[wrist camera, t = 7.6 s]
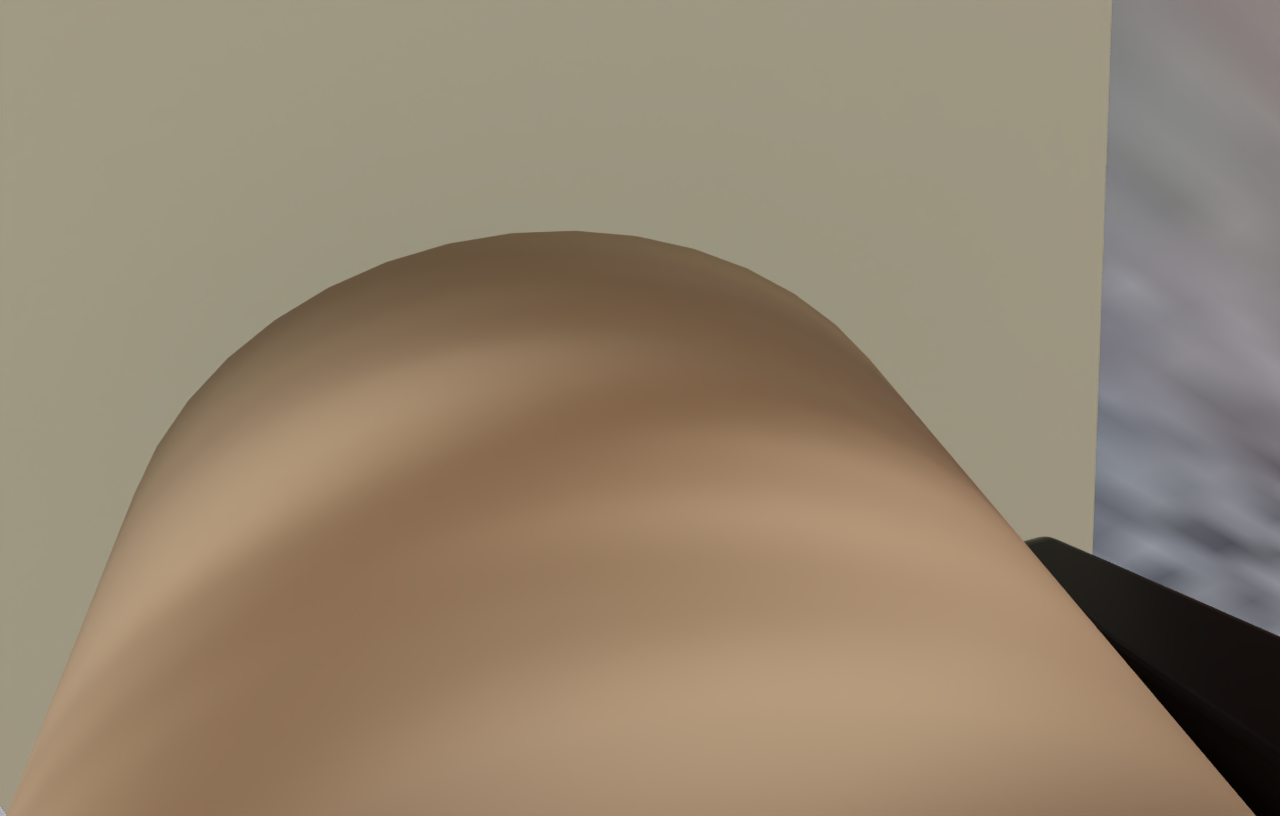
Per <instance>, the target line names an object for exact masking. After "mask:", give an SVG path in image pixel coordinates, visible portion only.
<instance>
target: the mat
mask: <svg viewBox="0 0 1280 816" xmlns="http://www.w3.org/2000/svg"><path fill="white" fill-rule="evenodd" d="M1111 15H1112V0H0V806H1V807H2V809H3V810H4V812H5V813H6V815H7V813H8V810H9V808H10V805H11V803H12V800H13V798H14V795H15V793H16V790H17V788H18V785H19V783H20V780H21V778H22V775H23V773H24V770H25V768H26V765H27V763H28V760H29V758H30V755H31V753H32V750H33V747H34V745H35V742H36V740H37V737H38V735H39V732H40V730H41V727H42V725H43V722H44V720H45V717H46V715H47V712H48V710H49V707H50V705H51V702H52V700H53V697H54V695H55V692H56V690H57V687H58V685H59V682H60V680H61V677H62V675H63V672H64V670H65V667H66V664H67V662H68V659H69V657H70V654H71V652H72V649H73V647H74V644H75V642H76V639H77V637H78V634H79V632H80V629H81V627H82V624H83V622H84V619H85V617H86V614H87V612H88V609H89V607H90V604H91V602H92V599H93V597H94V594H95V592H96V589H97V587H98V584H99V581H100V579H101V576H102V574H103V571H104V569H105V566H106V564H107V561H108V559H109V556H110V554H111V551H112V549H113V546H114V544H115V541H116V539H117V536H118V534H119V531H120V529H121V526H122V524H123V521H124V519H125V516H126V514H127V511H128V509H129V506H130V504H131V501H132V498H133V496H134V494H135V491H136V489H137V487H138V485H139V483H140V481H141V479H142V477H143V475H144V472H145V470H146V468H147V466H148V464H149V462H150V460H151V458H152V455H153V453H154V451H155V449H156V447H157V445H158V444H159V442H160V441H161V440H162V438H163V437H164V435H165V434H166V432H167V431H168V429H169V428H170V426H171V425H172V423H173V422H174V421H175V419H176V418H177V416H178V415H179V413H180V412H181V410H182V409H183V407H184V406H185V404H186V403H187V402H188V400H189V399H190V398H191V397H192V396H193V395H194V394H195V393H196V392H197V391H198V389H199V388H200V387H201V386H202V385H203V384H204V383H205V382H206V381H207V380H208V379H209V378H210V377H211V376H212V374H213V373H214V372H215V371H216V370H217V369H218V368H219V367H220V366H221V365H222V364H223V363H224V362H225V360H226V359H227V358H228V357H230V356H231V355H232V354H233V353H235V352H236V351H237V350H238V349H240V348H241V347H242V346H243V345H245V344H246V343H247V342H248V341H249V340H251V339H252V338H253V337H254V336H256V335H257V334H258V333H259V332H261V331H262V330H263V329H264V328H266V327H267V326H268V325H269V324H271V323H272V322H273V321H274V320H276V319H277V318H279V317H281V316H282V315H284V314H286V313H287V312H289V311H291V310H292V309H294V308H296V307H297V306H299V305H300V304H302V303H304V302H305V301H307V300H309V299H310V298H312V297H314V296H315V295H317V294H319V293H320V292H322V291H324V290H325V289H327V288H329V287H331V286H333V285H335V284H338V283H340V282H342V281H345V280H347V279H349V278H351V277H354V276H356V275H358V274H360V273H363V272H365V271H367V270H369V269H372V268H374V267H376V266H379V265H381V264H383V263H385V262H388V261H392V260H395V259H398V258H402V257H405V256H408V255H412V254H415V253H418V252H422V251H425V250H429V249H432V248H435V247H439V246H442V245H445V244H449V243H455V242H461V241H467V240H473V239H479V238H485V237H491V236H497V235H503V234H509V233H528V232H553V231H585V232H596V233H607V234H619V235H630V236H638V237H643V238H647V239H652V240H656V241H661V242H665V243H670V244H675V245H679V246H684V247H688V248H693V249H696V250H699V251H701V252H704V253H707V254H709V255H712V256H715V257H718V258H720V259H723V260H726V261H728V262H731V263H734V264H737V265H739V266H742V267H745V268H747V269H749V270H751V271H753V272H755V273H757V274H759V275H760V276H762V277H764V278H766V279H768V280H770V281H772V282H773V283H775V284H777V285H779V286H781V287H783V288H785V289H786V290H788V291H790V292H792V293H794V294H795V295H797V296H798V297H799V298H801V299H802V300H803V301H805V302H806V303H807V304H809V305H810V306H811V307H813V308H814V309H815V310H817V311H818V312H820V313H821V314H822V315H824V316H825V317H826V318H828V319H829V320H830V321H832V322H833V323H834V324H836V326H837V327H838V328H839V329H840V330H841V331H842V332H843V333H844V334H845V335H846V336H847V337H848V338H849V339H850V340H851V341H852V342H853V343H854V344H855V345H856V346H857V347H858V348H859V349H860V350H861V351H862V352H863V353H864V354H865V355H866V356H867V357H868V358H869V359H870V360H871V362H872V363H873V364H874V365H875V366H876V367H877V369H878V370H879V371H880V372H881V373H882V375H883V376H884V377H885V378H886V379H887V380H888V382H889V383H890V384H891V385H892V386H893V388H894V389H895V390H896V391H897V392H898V393H899V395H900V396H901V397H902V398H903V399H904V401H905V402H906V403H907V404H908V405H909V406H910V408H911V409H912V410H913V411H914V412H915V414H916V415H917V416H918V417H919V418H920V419H921V421H922V422H923V423H924V424H925V425H926V427H927V428H928V429H929V430H930V431H931V432H932V434H933V435H934V436H935V437H936V438H937V440H938V441H939V442H940V443H941V444H942V445H943V447H944V448H945V449H946V450H947V451H948V453H949V454H950V455H951V456H952V457H953V458H954V460H955V461H956V462H957V463H958V464H959V466H960V467H961V468H962V469H963V470H964V471H965V473H966V474H967V475H968V476H969V477H970V479H971V480H972V481H973V482H974V483H975V484H976V486H977V487H978V488H979V489H980V490H981V492H982V493H983V494H984V495H985V496H986V497H987V499H988V500H989V501H990V502H991V503H992V505H993V506H994V507H995V508H996V509H997V510H998V512H999V513H1000V514H1001V515H1002V516H1003V518H1004V519H1005V520H1006V521H1007V522H1008V523H1009V525H1010V526H1011V527H1012V528H1013V529H1014V531H1015V532H1016V533H1017V534H1018V535H1019V536H1020V538H1021V539H1022V540H1023V541H1026V540H1030V539H1033V538H1037V537H1044V536H1047V537H1052V538H1055V539H1058V540H1060V541H1062V542H1065V543H1067V544H1069V545H1071V546H1074V547H1076V548H1078V549H1081V550H1083V551H1085V552H1087V553H1090V554H1092V550H1093V522H1094V494H1095V466H1096V437H1097V409H1098V381H1099V353H1100V325H1101V297H1102V269H1103V240H1104V212H1105V184H1106V156H1107V128H1108V100H1109V72H1110V44H1111Z"/></svg>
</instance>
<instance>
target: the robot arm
mask: <svg viewBox="0 0 1280 816" xmlns="http://www.w3.org/2000/svg"><path fill="white" fill-rule="evenodd" d="M1024 542H1025V544H1026V545H1027V546H1028V547H1029V548H1030V549H1031V551H1032V552H1033V553H1034V554H1035V555H1036V557H1037V558H1038V559H1039V560H1040V561H1041V562H1042V564H1043V565H1044V566H1045V567H1046V568H1047V570H1048V571H1049V572H1050V573H1051V574H1052V575H1053V577H1054V578H1055V579H1056V580H1057V581H1058V583H1059V584H1060V585H1061V586H1062V587H1063V588H1064V590H1065V591H1066V592H1067V593H1068V594H1069V596H1070V597H1071V598H1072V599H1073V600H1074V601H1075V603H1076V604H1077V605H1078V606H1079V607H1080V609H1081V610H1082V611H1083V612H1084V613H1085V614H1086V616H1087V617H1088V618H1089V619H1090V620H1091V622H1092V623H1093V624H1094V625H1095V626H1096V627H1097V629H1098V630H1099V631H1100V632H1101V633H1102V635H1103V636H1104V637H1105V638H1106V639H1107V640H1108V642H1109V643H1110V644H1111V645H1112V646H1113V648H1114V649H1115V650H1116V651H1117V652H1118V653H1119V655H1120V656H1121V657H1122V658H1123V659H1124V661H1125V662H1126V663H1127V664H1128V665H1129V666H1130V668H1131V669H1132V670H1133V671H1134V672H1135V674H1136V675H1137V676H1138V677H1139V678H1140V679H1141V681H1142V682H1143V683H1144V684H1145V685H1146V687H1147V688H1148V689H1149V690H1150V691H1151V692H1152V694H1153V695H1154V696H1155V697H1156V698H1157V700H1158V701H1159V702H1160V703H1161V704H1162V705H1163V707H1164V708H1165V709H1166V710H1167V711H1168V713H1169V714H1170V715H1171V716H1172V717H1173V718H1174V720H1175V721H1176V722H1177V723H1178V724H1179V726H1180V727H1181V728H1182V729H1183V730H1184V731H1185V733H1186V734H1187V735H1188V736H1189V737H1190V739H1191V740H1192V741H1193V742H1194V743H1195V744H1196V746H1197V747H1198V748H1199V749H1200V750H1201V752H1202V753H1203V754H1204V755H1205V756H1206V757H1207V759H1208V760H1209V761H1210V762H1211V763H1212V765H1213V766H1214V767H1215V768H1216V769H1217V770H1218V772H1219V773H1220V774H1221V775H1222V776H1223V778H1224V779H1225V780H1226V781H1227V782H1228V783H1229V785H1230V786H1231V787H1232V788H1233V789H1234V791H1235V792H1236V793H1237V794H1238V795H1239V796H1240V798H1241V799H1242V800H1243V801H1244V802H1245V804H1246V805H1247V806H1248V807H1249V808H1250V809H1251V811H1252V812H1253V813H1254V814H1255V815H1256V816H1280V636H1278V635H1275V634H1273V633H1271V632H1268V631H1266V630H1264V629H1262V628H1259V627H1257V626H1255V625H1252V624H1250V623H1248V622H1245V621H1243V620H1241V619H1239V618H1236V617H1234V616H1232V615H1229V614H1227V613H1225V612H1223V611H1220V610H1218V609H1216V608H1213V607H1211V606H1209V605H1207V604H1204V603H1202V602H1200V601H1197V600H1195V599H1193V598H1191V597H1188V596H1186V595H1184V594H1181V593H1179V592H1177V591H1174V590H1172V589H1170V588H1168V587H1165V586H1163V585H1161V584H1158V583H1156V582H1154V581H1152V580H1149V579H1147V578H1145V577H1142V576H1140V575H1138V574H1136V573H1133V572H1131V571H1129V570H1126V569H1124V568H1122V567H1120V566H1117V565H1115V564H1113V563H1110V562H1108V561H1106V560H1103V559H1101V558H1099V557H1097V556H1094V555H1092V554H1090V553H1087V552H1085V551H1083V550H1081V549H1078V548H1076V547H1074V546H1071V545H1069V544H1067V543H1065V542H1062V541H1060V540H1058V539H1055V538H1052V537H1047V536H1044V537H1037V538H1033V539H1030V540H1026V541H1024Z"/></svg>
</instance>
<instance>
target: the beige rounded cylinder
mask: <svg viewBox="0 0 1280 816" xmlns="http://www.w3.org/2000/svg"><path fill="white" fill-rule="evenodd" d="M6 816H1256V815H1255V814H1254V813H1253V812H1252V811H1251V809H1250V808H1249V807H1248V806H1247V805H1246V804H1245V802H1244V801H1243V800H1242V799H1241V798H1240V796H1239V795H1238V794H1237V793H1236V792H1235V791H1234V789H1233V788H1232V787H1231V786H1230V785H1229V783H1228V782H1227V781H1226V780H1225V779H1224V778H1223V776H1222V775H1221V774H1220V773H1219V772H1218V770H1217V769H1216V768H1215V767H1214V766H1213V765H1212V763H1211V762H1210V761H1209V760H1208V759H1207V757H1206V756H1205V755H1204V754H1203V753H1202V752H1201V750H1200V749H1199V748H1198V747H1197V746H1196V744H1195V743H1194V742H1193V741H1192V740H1191V739H1190V737H1189V736H1188V735H1187V734H1186V733H1185V731H1184V730H1183V729H1182V728H1181V727H1180V726H1179V724H1178V723H1177V722H1176V721H1175V720H1174V718H1173V717H1172V716H1171V715H1170V714H1169V713H1168V711H1167V710H1166V709H1165V708H1164V707H1163V705H1162V704H1161V703H1160V702H1159V701H1158V700H1157V698H1156V697H1155V696H1154V695H1153V694H1152V692H1151V691H1150V690H1149V689H1148V688H1147V687H1146V685H1145V684H1144V683H1143V682H1142V681H1141V679H1140V678H1139V677H1138V676H1137V675H1136V674H1135V672H1134V671H1133V670H1132V669H1131V668H1130V666H1129V665H1128V664H1127V663H1126V662H1125V661H1124V659H1123V658H1122V657H1121V656H1120V655H1119V653H1118V652H1117V651H1116V650H1115V649H1114V648H1113V646H1112V645H1111V644H1110V643H1109V642H1108V640H1107V639H1106V638H1105V637H1104V636H1103V635H1102V633H1101V632H1100V631H1099V630H1098V629H1097V627H1096V626H1095V625H1094V624H1093V623H1092V622H1091V620H1090V619H1089V618H1088V617H1087V616H1086V614H1085V613H1084V612H1083V611H1082V610H1081V609H1080V607H1079V606H1078V605H1077V604H1076V603H1075V601H1074V600H1073V599H1072V598H1071V597H1070V596H1069V594H1068V593H1067V592H1066V591H1065V590H1064V588H1063V587H1062V586H1061V585H1060V584H1059V583H1058V581H1057V580H1056V579H1055V578H1054V577H1053V575H1052V574H1051V573H1050V572H1049V571H1048V570H1047V568H1046V567H1045V566H1044V565H1043V564H1042V562H1041V561H1040V560H1039V559H1038V558H1037V557H1036V555H1035V554H1034V553H1033V552H1032V551H1031V549H1030V548H1029V547H1028V546H1027V545H1026V544H1025V542H1024V541H1023V540H1022V539H1021V538H1020V536H1019V535H1018V534H1017V533H1016V532H1015V531H1014V529H1013V528H1012V527H1011V526H1010V525H1009V523H1008V522H1007V521H1006V520H1005V519H1004V518H1003V516H1002V515H1001V514H1000V513H999V512H998V510H997V509H996V508H995V507H994V506H993V505H992V503H991V502H990V501H989V500H988V499H987V497H986V496H985V495H984V494H983V493H982V492H981V490H980V489H979V488H978V487H977V486H976V484H975V483H974V482H973V481H972V480H971V479H970V477H969V476H968V475H967V474H966V473H965V471H964V470H963V469H962V468H961V467H960V466H959V464H958V463H957V462H956V461H955V460H954V458H953V457H952V456H951V455H950V454H949V453H948V451H947V450H946V449H945V448H944V447H943V445H942V444H941V443H940V442H939V441H938V440H937V438H936V437H935V436H934V435H933V434H932V432H931V431H930V430H929V429H928V428H927V427H926V425H925V424H924V423H923V422H922V421H921V419H920V418H919V417H918V416H917V415H916V414H915V412H914V411H913V410H912V409H911V408H910V406H909V405H908V404H907V403H906V402H905V401H904V399H903V398H902V397H901V396H900V395H899V393H898V392H897V391H896V390H895V389H894V388H893V386H892V385H891V384H890V383H889V382H888V380H887V379H886V378H885V377H884V376H883V375H882V373H881V372H880V371H879V370H878V369H877V367H876V366H875V365H874V364H873V363H872V362H871V360H870V359H869V358H868V357H867V356H866V355H865V354H864V353H863V352H862V351H861V350H860V349H859V348H858V347H857V346H856V345H855V344H854V343H853V342H852V341H851V340H850V339H849V338H848V337H847V336H846V335H845V334H844V333H843V332H842V331H841V330H840V329H839V328H838V327H837V326H836V324H834V323H833V322H832V321H830V320H829V319H828V318H826V317H825V316H824V315H822V314H821V313H820V312H818V311H817V310H815V309H814V308H813V307H811V306H810V305H809V304H807V303H806V302H805V301H803V300H802V299H801V298H799V297H798V296H797V295H795V294H794V293H792V292H790V291H788V290H786V289H785V288H783V287H781V286H779V285H777V284H775V283H773V282H772V281H770V280H768V279H766V278H764V277H762V276H760V275H759V274H757V273H755V272H753V271H751V270H749V269H747V268H745V267H742V266H739V265H737V264H734V263H731V262H728V261H726V260H723V259H720V258H718V257H715V256H712V255H709V254H707V253H704V252H701V251H699V250H696V249H693V248H688V247H684V246H679V245H675V244H670V243H665V242H661V241H656V240H652V239H647V238H643V237H638V236H630V235H619V234H607V233H596V232H585V231H553V232H528V233H509V234H503V235H497V236H491V237H485V238H479V239H473V240H467V241H461V242H455V243H449V244H445V245H442V246H439V247H435V248H432V249H429V250H425V251H422V252H418V253H415V254H412V255H408V256H405V257H402V258H398V259H395V260H392V261H388V262H385V263H383V264H381V265H379V266H376V267H374V268H372V269H369V270H367V271H365V272H363V273H360V274H358V275H356V276H354V277H351V278H349V279H347V280H345V281H342V282H340V283H338V284H335V285H333V286H331V287H329V288H327V289H325V290H324V291H322V292H320V293H319V294H317V295H315V296H314V297H312V298H310V299H309V300H307V301H305V302H304V303H302V304H300V305H299V306H297V307H296V308H294V309H292V310H291V311H289V312H287V313H286V314H284V315H282V316H281V317H279V318H277V319H276V320H274V321H273V322H272V323H271V324H269V325H268V326H267V327H266V328H264V329H263V330H262V331H261V332H259V333H258V334H257V335H256V336H254V337H253V338H252V339H251V340H249V341H248V342H247V343H246V344H245V345H243V346H242V347H241V348H240V349H238V350H237V351H236V352H235V353H233V354H232V355H231V356H230V357H228V358H227V359H226V360H225V362H224V363H223V364H222V365H221V366H220V367H219V368H218V369H217V370H216V371H215V372H214V373H213V374H212V376H211V377H210V378H209V379H208V380H207V381H206V382H205V383H204V384H203V385H202V386H201V387H200V388H199V389H198V391H197V392H196V393H195V394H194V395H193V396H192V397H191V398H190V399H189V400H188V402H187V403H186V404H185V406H184V407H183V409H182V410H181V412H180V413H179V415H178V416H177V418H176V419H175V421H174V422H173V423H172V425H171V426H170V428H169V429H168V431H167V432H166V434H165V435H164V437H163V438H162V440H161V441H160V442H159V444H158V445H157V447H156V449H155V451H154V453H153V455H152V458H151V460H150V462H149V464H148V466H147V468H146V470H145V472H144V475H143V477H142V479H141V481H140V483H139V485H138V487H137V489H136V491H135V494H134V496H133V498H132V501H131V504H130V506H129V509H128V511H127V514H126V516H125V519H124V521H123V524H122V526H121V529H120V531H119V534H118V536H117V539H116V541H115V544H114V546H113V549H112V551H111V554H110V556H109V559H108V561H107V564H106V566H105V569H104V571H103V574H102V576H101V579H100V581H99V584H98V587H97V589H96V592H95V594H94V597H93V599H92V602H91V604H90V607H89V609H88V612H87V614H86V617H85V619H84V622H83V624H82V627H81V629H80V632H79V634H78V637H77V639H76V642H75V644H74V647H73V649H72V652H71V654H70V657H69V659H68V662H67V664H66V667H65V670H64V672H63V675H62V677H61V680H60V682H59V685H58V687H57V690H56V692H55V695H54V697H53V700H52V702H51V705H50V707H49V710H48V712H47V715H46V717H45V720H44V722H43V725H42V727H41V730H40V732H39V735H38V737H37V740H36V742H35V745H34V747H33V750H32V753H31V755H30V758H29V760H28V763H27V765H26V768H25V770H24V773H23V775H22V778H21V780H20V783H19V785H18V788H17V790H16V793H15V795H14V798H13V800H12V803H11V805H10V808H9V810H8V813H7V815H6Z"/></svg>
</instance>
